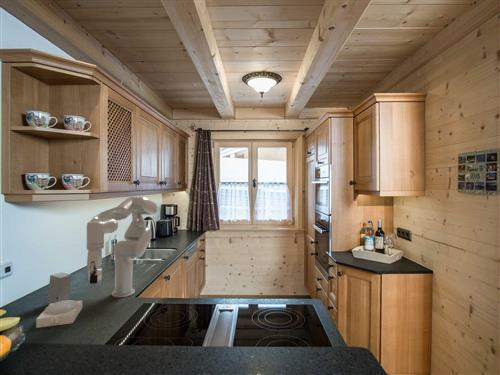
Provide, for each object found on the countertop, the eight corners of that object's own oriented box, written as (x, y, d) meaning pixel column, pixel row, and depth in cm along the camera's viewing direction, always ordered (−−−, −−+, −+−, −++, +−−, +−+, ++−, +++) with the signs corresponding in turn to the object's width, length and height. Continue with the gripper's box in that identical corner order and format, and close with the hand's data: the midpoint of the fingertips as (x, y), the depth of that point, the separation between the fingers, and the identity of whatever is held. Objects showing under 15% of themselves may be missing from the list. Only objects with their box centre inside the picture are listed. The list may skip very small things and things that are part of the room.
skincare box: (47, 304, 138) (47, 275, 138) (60, 299, 145) (61, 271, 145) (57, 307, 135) (58, 277, 135) (71, 302, 142) (71, 273, 142)
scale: (50, 311, 131) (50, 301, 131) (82, 307, 136) (82, 298, 136) (35, 328, 116) (35, 317, 116) (71, 323, 120) (72, 313, 120)
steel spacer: (89, 280, 133) (89, 267, 133) (103, 279, 135) (103, 266, 135) (86, 285, 127) (86, 271, 127) (100, 284, 129) (100, 270, 129)
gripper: (91, 242, 138) (91, 275, 138) (81, 250, 121) (81, 288, 122) (107, 241, 140) (106, 273, 141) (100, 249, 124) (99, 286, 124)
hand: (95, 280), depth 131 cm, fingers closed on steel spacer, 6 cm apart
